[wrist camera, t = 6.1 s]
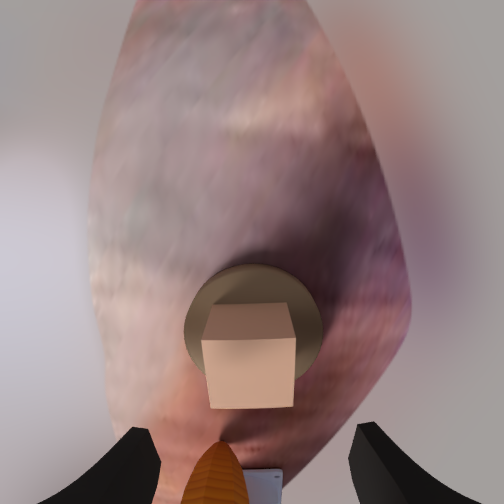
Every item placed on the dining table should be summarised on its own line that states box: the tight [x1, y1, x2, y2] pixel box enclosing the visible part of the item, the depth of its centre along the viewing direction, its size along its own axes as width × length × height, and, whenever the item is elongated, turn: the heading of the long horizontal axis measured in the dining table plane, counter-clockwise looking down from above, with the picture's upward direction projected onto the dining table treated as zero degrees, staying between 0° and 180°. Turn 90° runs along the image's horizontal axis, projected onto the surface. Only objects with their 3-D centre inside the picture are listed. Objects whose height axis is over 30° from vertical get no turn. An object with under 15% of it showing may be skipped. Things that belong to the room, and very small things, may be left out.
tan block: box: [201, 302, 296, 409], centre depth 15 cm, size 4×4×4 cm
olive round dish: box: [184, 264, 323, 381], centre depth 18 cm, size 8×8×2 cm
